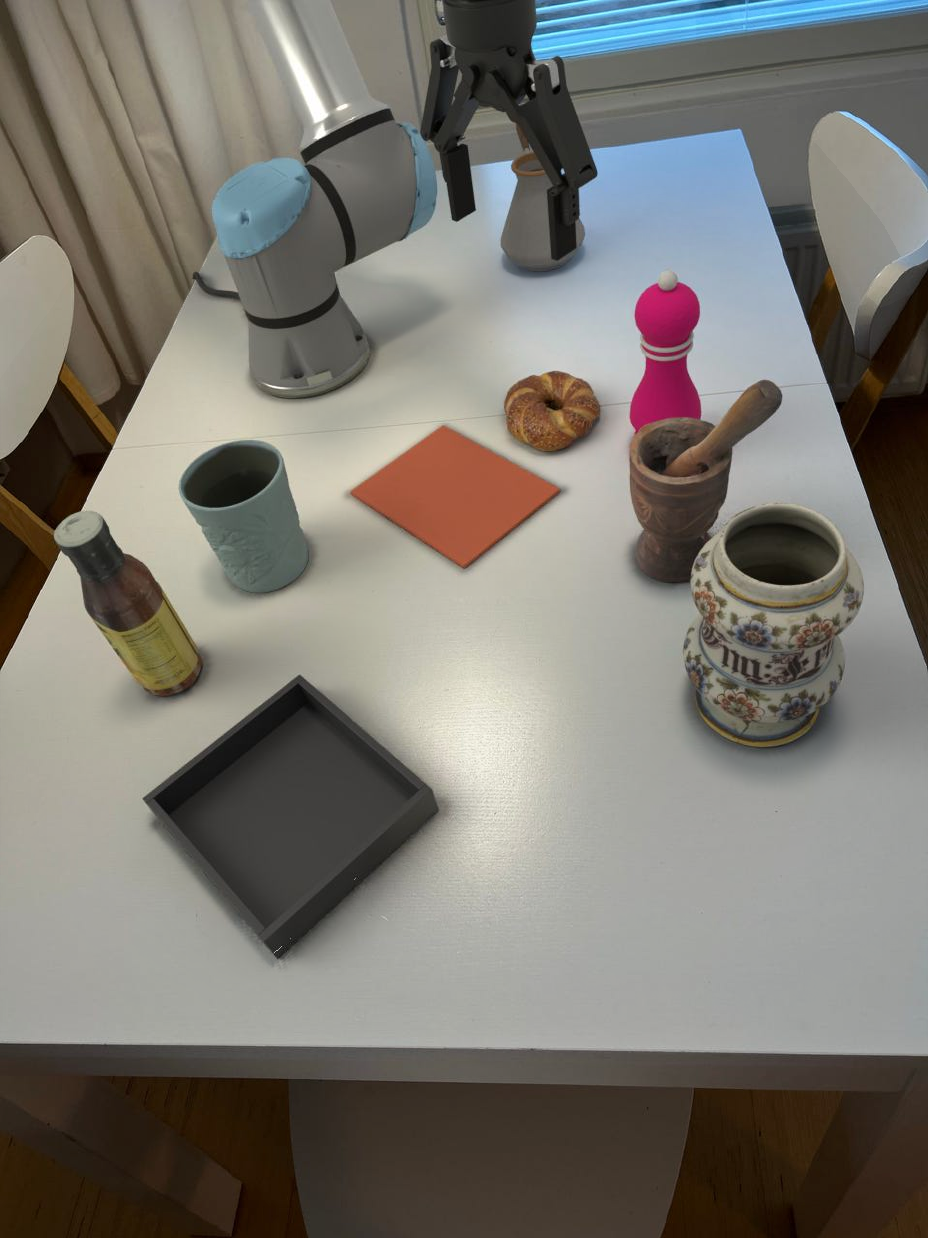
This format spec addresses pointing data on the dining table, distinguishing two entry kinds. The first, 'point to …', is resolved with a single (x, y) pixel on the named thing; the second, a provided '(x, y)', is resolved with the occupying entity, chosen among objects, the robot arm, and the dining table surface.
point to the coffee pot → (532, 216)
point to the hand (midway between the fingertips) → (512, 233)
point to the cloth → (455, 495)
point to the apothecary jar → (770, 622)
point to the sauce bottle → (129, 607)
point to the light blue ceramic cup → (247, 513)
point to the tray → (291, 811)
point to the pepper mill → (666, 352)
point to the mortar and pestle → (688, 480)
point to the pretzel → (550, 410)
